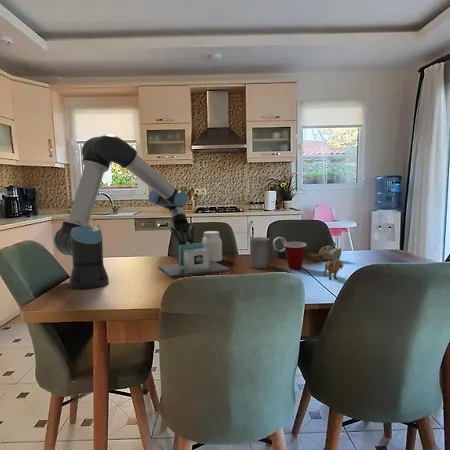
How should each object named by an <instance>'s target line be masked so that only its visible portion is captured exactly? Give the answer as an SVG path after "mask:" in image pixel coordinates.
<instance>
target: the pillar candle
mask: <svg viewBox="0 0 450 450" xmlns="http://www.w3.org/2000/svg"><path fill="white" fill-rule="evenodd" d="M249 267H250V268H253V269H268V268H270V267H271V239H270V238H269V237H261V236H259V237H252V238H250V239H249Z"/></svg>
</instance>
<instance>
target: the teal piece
mask: <svg viewBox="0 0 450 450" xmlns="http://www.w3.org/2000/svg"><path fill="white" fill-rule="evenodd" d="M193 248H204V243H202V242H197V243H193V244H183V245H182V244H181V245H179V244H178V255H179V256H178V257H179V260H178V262H179V263H178V264H179V265H180V266H183V254H182V249H193ZM194 261H195V262H197V263H199V264H201V263H203V258H202V257H199V256H194Z"/></svg>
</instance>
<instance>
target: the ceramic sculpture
mask: <svg viewBox="0 0 450 450" xmlns="http://www.w3.org/2000/svg"><path fill="white" fill-rule="evenodd" d="M341 256H342V247H340V248H339V247H338V248H334V247H333V245H331V244H327V245H326V246H322V247H321V248H320V249H319V252H318V254H317V253H316V254H313V255H310V257H311V258H313V259H315V260H322V261H327V260H328V261H332V260H334V259H339V260H340V259H341Z"/></svg>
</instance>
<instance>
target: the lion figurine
mask: <svg viewBox="0 0 450 450" xmlns="http://www.w3.org/2000/svg"><path fill="white" fill-rule="evenodd" d="M344 266H345V264H343V263H342V262H341V261H340V259H334V260H328V261H327V260H325V264H324V271H323V273H324V274H323V277H327V274H328V280H329V281H332V280H335V281H336V280H338V277H337V274H338V272H339V271H340V269H341V270H342V269H343V268H344ZM327 272H328V273H327ZM332 274H333V279H332Z"/></svg>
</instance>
